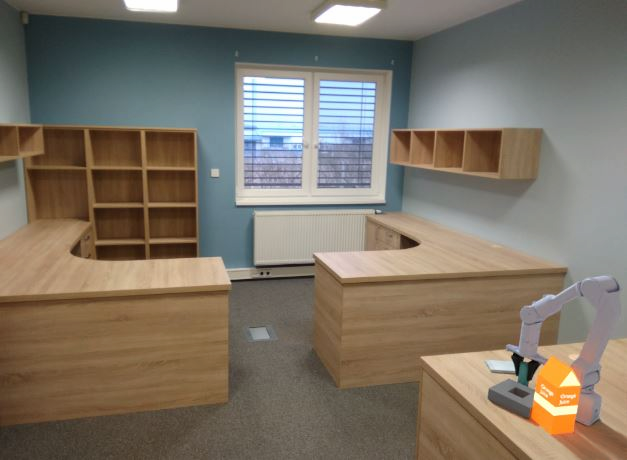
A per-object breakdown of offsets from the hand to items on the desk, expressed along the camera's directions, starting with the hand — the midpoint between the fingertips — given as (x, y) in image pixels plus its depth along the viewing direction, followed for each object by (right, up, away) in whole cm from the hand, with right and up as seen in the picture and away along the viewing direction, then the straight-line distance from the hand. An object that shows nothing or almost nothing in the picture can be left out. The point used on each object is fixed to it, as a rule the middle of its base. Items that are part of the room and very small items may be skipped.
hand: (523, 377), depth 172 cm
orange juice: (-1, -8, -22) cm, 23 cm away
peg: (0, -3, +1) cm, 3 cm away
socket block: (-6, -5, -11) cm, 13 cm away
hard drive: (-2, -1, +13) cm, 14 cm away
